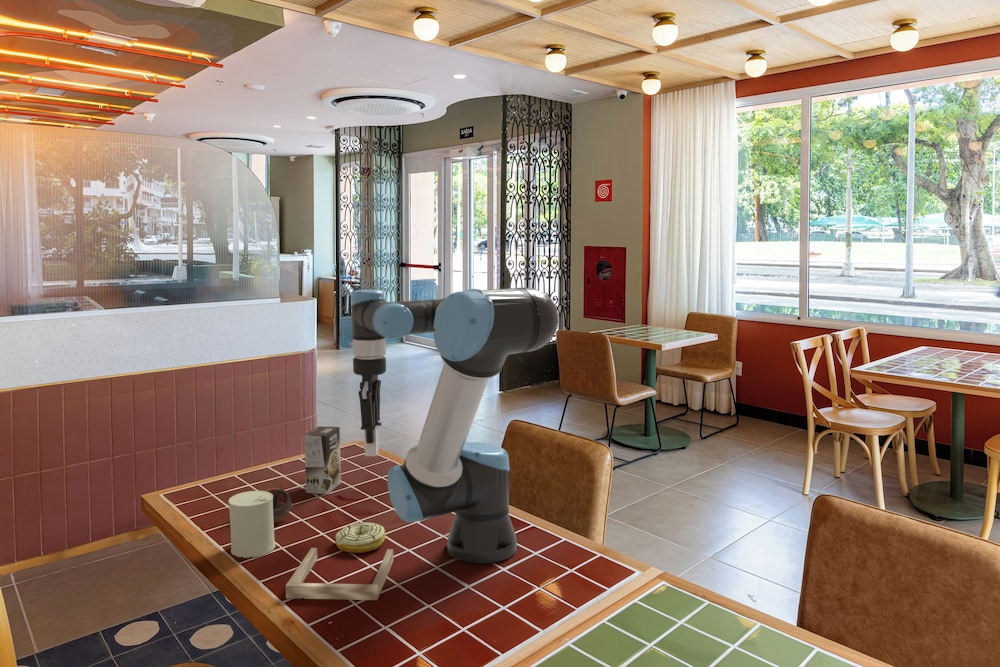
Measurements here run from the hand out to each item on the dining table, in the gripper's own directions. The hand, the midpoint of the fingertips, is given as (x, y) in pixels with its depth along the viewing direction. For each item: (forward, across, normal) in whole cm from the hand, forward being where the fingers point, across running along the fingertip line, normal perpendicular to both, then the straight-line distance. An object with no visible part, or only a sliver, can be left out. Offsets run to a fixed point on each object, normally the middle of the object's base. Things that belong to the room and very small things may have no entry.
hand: (371, 454), depth 167 cm
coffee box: (+17, -21, -18) cm, 32 cm away
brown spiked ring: (+17, -1, -26) cm, 31 cm away
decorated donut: (+17, +13, 0) cm, 21 cm away
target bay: (+16, +28, 0) cm, 32 cm away
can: (+17, +16, -23) cm, 33 cm away
